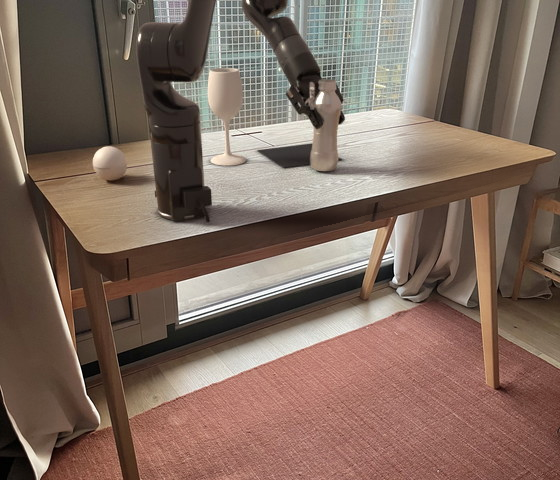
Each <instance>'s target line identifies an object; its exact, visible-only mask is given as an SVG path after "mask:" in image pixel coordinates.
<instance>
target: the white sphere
mask: <svg viewBox="0 0 560 480" xmlns="http://www.w3.org/2000/svg"><path fill="white" fill-rule="evenodd" d="M90 167H93V170H94V172H95V173H96V174H97V176H98V177H100V178H101V179H103V180H106V181H110V182H111V181H117V180H119V179H120V178H122V177H123V176H124V175H125V174H126V171H127V168H128V160H127V157H126V155H125V154H124V152H122V150H120V149H119V148H117V147H115V146H108V145H107V146H103V147H100V148H99V149H97V151H96V152H95V153H94V155H93V158H92V165H89V166H87V167H83V168H82V170H84V169H87V168H90Z"/></svg>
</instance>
